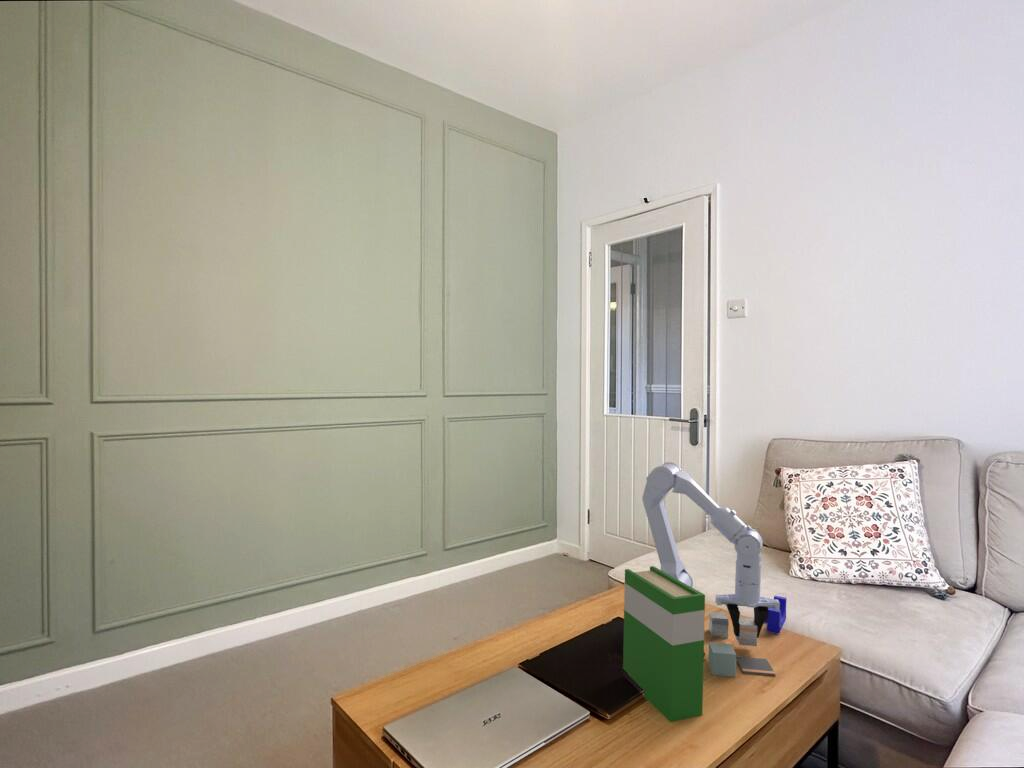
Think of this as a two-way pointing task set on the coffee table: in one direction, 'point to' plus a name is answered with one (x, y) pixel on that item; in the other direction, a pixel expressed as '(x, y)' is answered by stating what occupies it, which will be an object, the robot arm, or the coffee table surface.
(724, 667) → the block
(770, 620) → the cable clip
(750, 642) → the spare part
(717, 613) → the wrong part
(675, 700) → the hardback book
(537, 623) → the coffee table surface
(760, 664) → the pad
